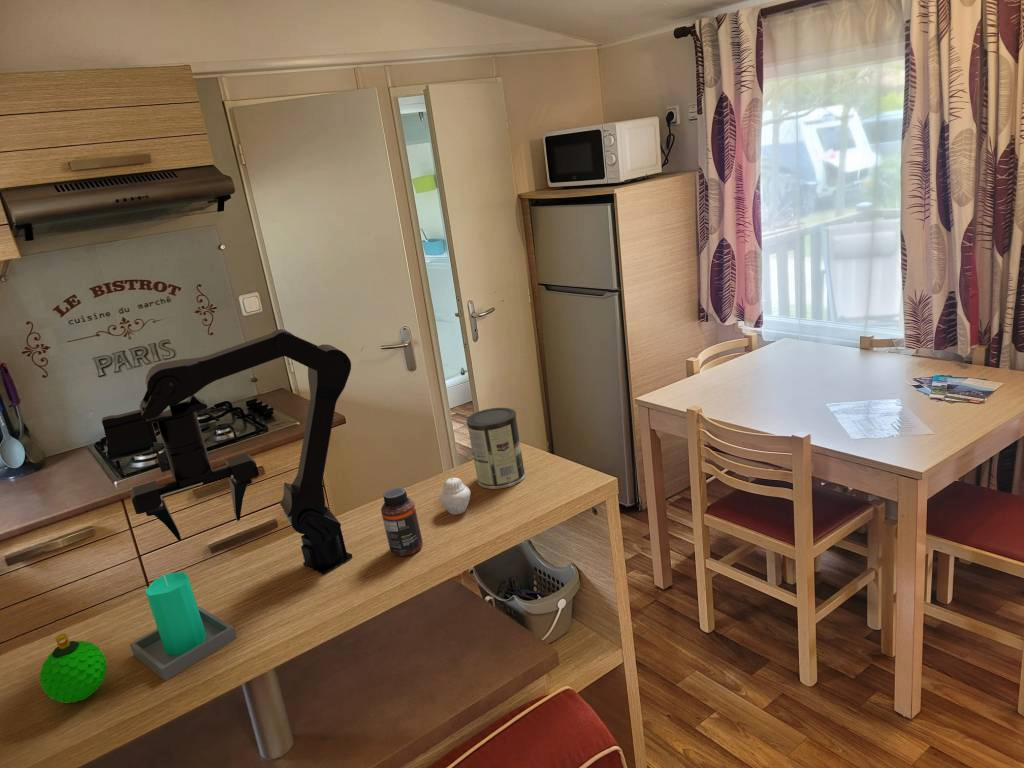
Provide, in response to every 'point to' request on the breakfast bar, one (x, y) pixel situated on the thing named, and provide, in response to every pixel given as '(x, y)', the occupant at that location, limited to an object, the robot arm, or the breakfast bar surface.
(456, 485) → the muffin
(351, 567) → the breakfast bar surface
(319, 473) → the robot arm
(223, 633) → the tray
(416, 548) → the supplement bottle
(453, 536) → the breakfast bar surface
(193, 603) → the candle
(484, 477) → the coffee can
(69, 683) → the ornament
